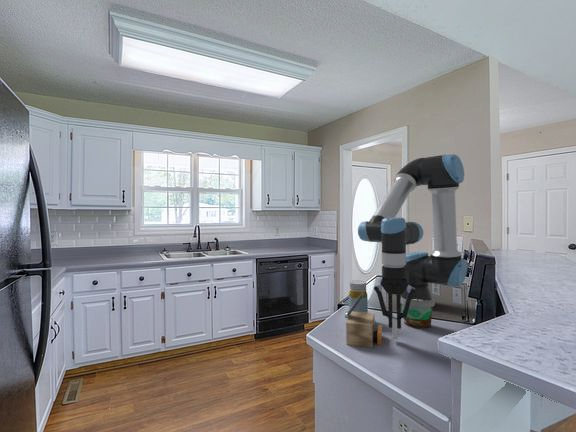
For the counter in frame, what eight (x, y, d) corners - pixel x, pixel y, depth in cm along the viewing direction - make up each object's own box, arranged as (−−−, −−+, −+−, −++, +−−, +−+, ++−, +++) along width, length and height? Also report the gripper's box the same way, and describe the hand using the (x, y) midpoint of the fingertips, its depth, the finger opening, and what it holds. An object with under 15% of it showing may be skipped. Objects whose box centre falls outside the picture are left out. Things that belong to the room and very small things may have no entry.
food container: (399, 327, 115) (399, 300, 115) (399, 321, 121) (399, 295, 121) (436, 331, 111) (436, 303, 111) (435, 325, 117) (434, 298, 117)
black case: (382, 336, 108) (381, 325, 108) (381, 345, 101) (381, 332, 101) (348, 333, 111) (348, 322, 111) (346, 341, 104) (345, 329, 104)
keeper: (365, 293, 108) (362, 291, 108) (363, 296, 103) (360, 294, 104) (349, 314, 110) (346, 312, 110) (347, 319, 105) (344, 316, 106)
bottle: (368, 324, 119) (367, 284, 119) (349, 323, 121) (348, 284, 120) (367, 317, 126) (366, 280, 126) (349, 317, 127) (348, 279, 127)
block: (374, 333, 111) (374, 313, 111) (372, 347, 99) (371, 325, 99) (351, 330, 113) (351, 311, 113) (346, 344, 102) (346, 322, 102)
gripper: (415, 264, 104) (416, 335, 104) (373, 262, 108) (375, 331, 109) (416, 268, 97) (417, 344, 97) (372, 266, 101) (373, 340, 102)
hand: (395, 337), depth 103 cm, fingers closed
